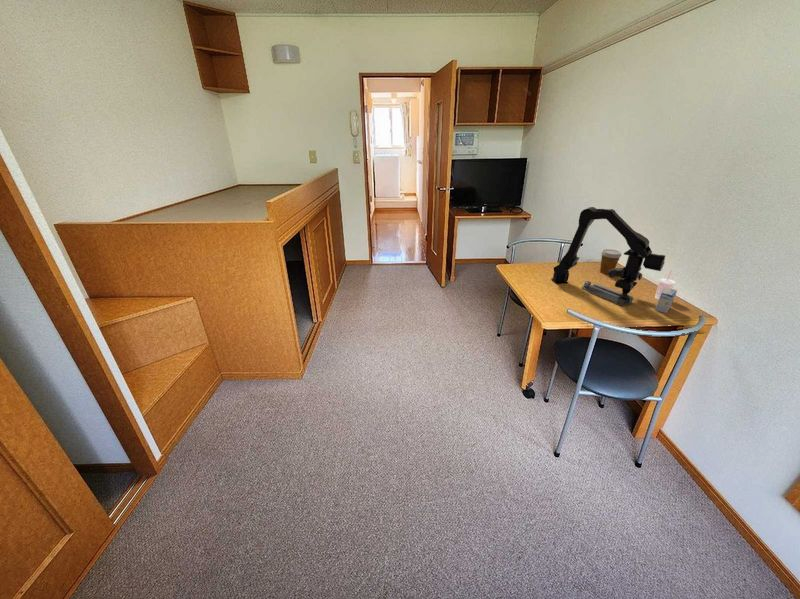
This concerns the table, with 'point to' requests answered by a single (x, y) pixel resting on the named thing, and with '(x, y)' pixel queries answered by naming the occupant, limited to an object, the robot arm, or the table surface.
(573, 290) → the table surface
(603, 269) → the disposable coffee cup
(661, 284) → the beverage cup
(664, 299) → the medicine box
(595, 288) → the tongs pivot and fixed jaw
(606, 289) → the bar
